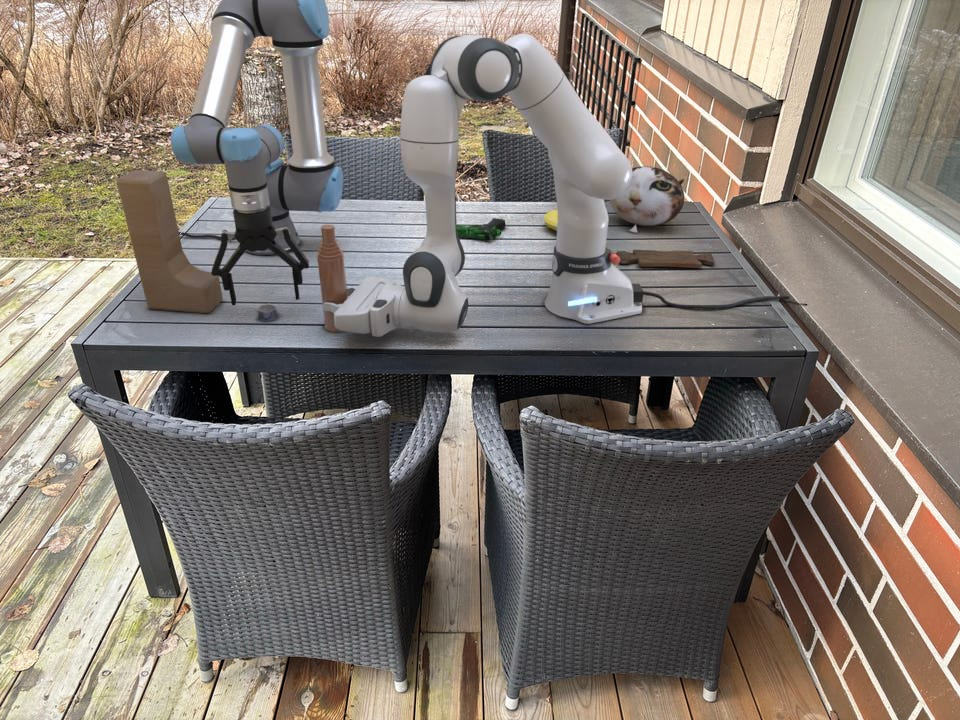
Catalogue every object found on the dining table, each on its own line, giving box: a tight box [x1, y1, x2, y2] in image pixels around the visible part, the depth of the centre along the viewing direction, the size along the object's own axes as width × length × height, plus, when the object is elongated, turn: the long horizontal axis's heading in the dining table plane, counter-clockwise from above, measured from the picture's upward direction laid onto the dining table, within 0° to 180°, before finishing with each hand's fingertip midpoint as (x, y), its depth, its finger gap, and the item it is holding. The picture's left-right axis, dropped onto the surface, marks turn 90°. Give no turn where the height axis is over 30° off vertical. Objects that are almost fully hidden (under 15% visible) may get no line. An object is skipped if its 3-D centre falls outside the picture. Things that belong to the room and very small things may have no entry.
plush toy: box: [609, 165, 685, 233], centre depth 210 cm, size 22×18×20 cm
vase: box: [543, 209, 558, 232], centre depth 209 cm, size 16×16×7 cm
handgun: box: [457, 217, 506, 242], centre depth 207 cm, size 16×3×15 cm
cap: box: [257, 304, 278, 322], centre depth 160 cm, size 4×4×2 cm
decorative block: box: [116, 169, 224, 314], centre depth 157 cm, size 8×15×30 cm, turn 82°
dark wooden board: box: [615, 249, 715, 269], centre depth 190 cm, size 26×2×10 cm
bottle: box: [316, 224, 349, 333], centre depth 151 cm, size 6×6×23 cm
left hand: (266, 300), depth 158 cm, fingers open, 13 cm apart
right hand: (330, 298), depth 154 cm, fingers closed on bottle, 5 cm apart
